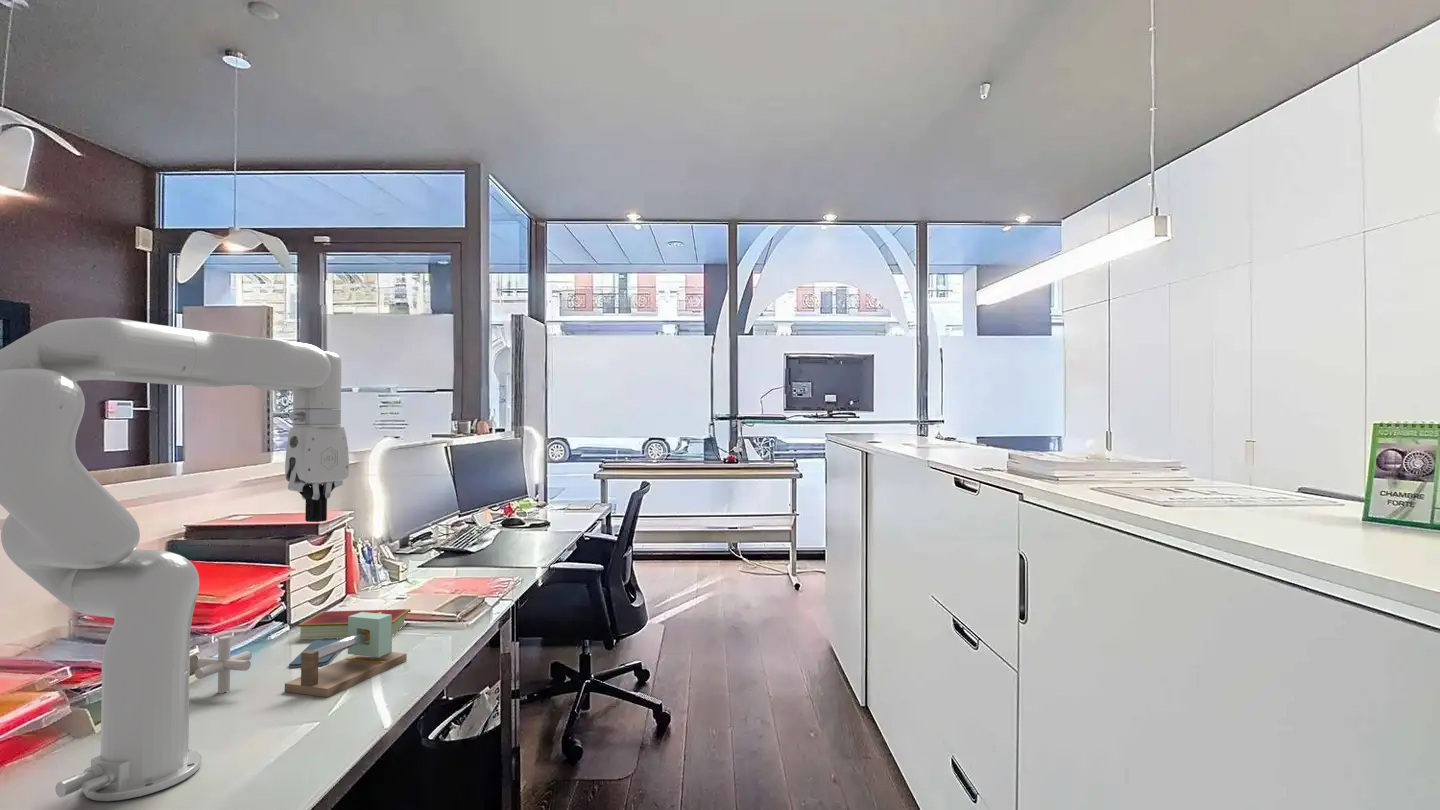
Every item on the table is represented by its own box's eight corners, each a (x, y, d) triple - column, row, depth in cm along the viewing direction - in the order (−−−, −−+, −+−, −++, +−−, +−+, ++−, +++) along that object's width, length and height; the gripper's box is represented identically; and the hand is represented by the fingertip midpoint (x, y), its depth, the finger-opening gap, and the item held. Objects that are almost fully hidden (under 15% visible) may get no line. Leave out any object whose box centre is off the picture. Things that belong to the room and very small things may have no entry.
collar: (378, 657, 138) (378, 619, 138) (347, 654, 140) (348, 616, 141) (391, 651, 142) (391, 614, 142) (361, 648, 144) (361, 611, 144)
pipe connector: (221, 704, 122) (222, 647, 122) (175, 700, 124) (176, 644, 124) (269, 683, 132) (269, 630, 132) (225, 679, 134) (226, 627, 134)
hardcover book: (322, 627, 170) (323, 609, 170) (410, 624, 172) (410, 607, 172) (297, 642, 158) (297, 623, 158) (392, 639, 160) (392, 621, 160)
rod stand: (327, 697, 125) (328, 654, 125) (284, 691, 128) (285, 649, 128) (406, 660, 144) (406, 623, 144) (367, 656, 147) (367, 620, 147)
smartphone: (286, 664, 140) (313, 639, 155) (286, 673, 140) (313, 647, 155) (327, 661, 142) (349, 637, 156) (327, 669, 142) (350, 644, 156)
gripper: (297, 419, 116) (296, 528, 116) (366, 419, 131) (365, 516, 130) (263, 419, 119) (261, 526, 118) (334, 419, 133) (333, 515, 132)
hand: (316, 521), depth 124 cm, fingers closed
